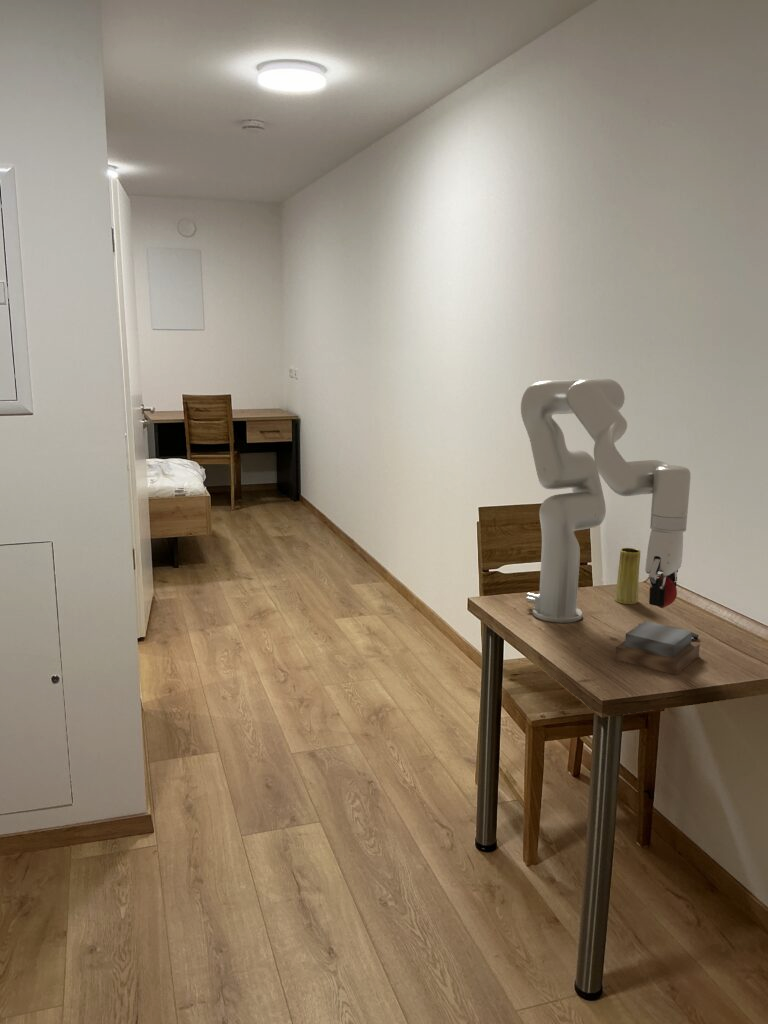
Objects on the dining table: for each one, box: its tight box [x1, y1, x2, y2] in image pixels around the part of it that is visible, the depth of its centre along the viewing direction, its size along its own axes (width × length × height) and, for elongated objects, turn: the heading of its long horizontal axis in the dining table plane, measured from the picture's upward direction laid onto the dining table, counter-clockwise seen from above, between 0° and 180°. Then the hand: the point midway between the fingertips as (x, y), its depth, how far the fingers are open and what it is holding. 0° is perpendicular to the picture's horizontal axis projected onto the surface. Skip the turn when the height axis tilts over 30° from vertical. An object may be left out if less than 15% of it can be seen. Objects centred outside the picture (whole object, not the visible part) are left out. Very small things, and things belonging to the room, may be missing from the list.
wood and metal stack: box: [614, 620, 701, 676], centre depth 196 cm, size 14×14×6 cm
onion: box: [649, 573, 678, 609], centre depth 193 cm, size 6×6×8 cm
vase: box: [614, 547, 641, 605], centre depth 235 cm, size 6×6×14 cm
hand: (662, 601), depth 194 cm, fingers closed on onion, 5 cm apart
